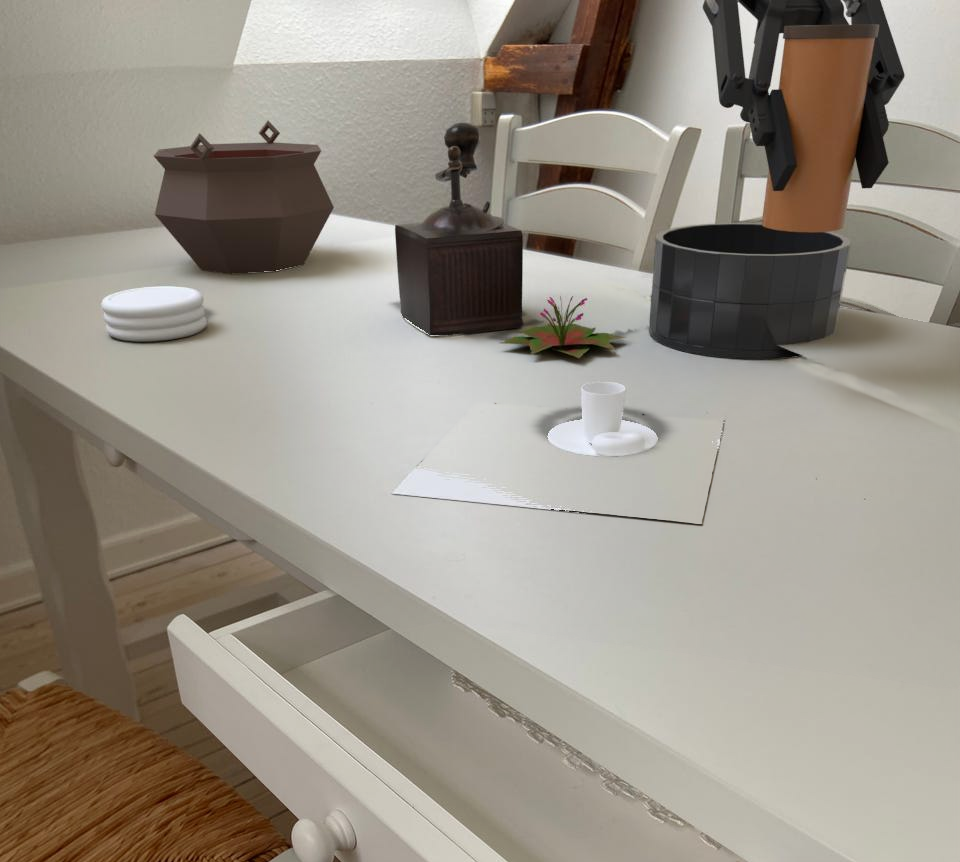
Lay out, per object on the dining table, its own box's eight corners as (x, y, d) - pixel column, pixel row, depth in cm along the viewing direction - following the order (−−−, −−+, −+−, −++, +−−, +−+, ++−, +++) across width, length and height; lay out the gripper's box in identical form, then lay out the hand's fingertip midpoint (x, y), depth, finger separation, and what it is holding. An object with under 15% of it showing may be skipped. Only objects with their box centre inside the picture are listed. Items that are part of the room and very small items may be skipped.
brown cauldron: (207, 245, 146) (189, 119, 137) (365, 249, 141) (356, 119, 133) (125, 279, 126) (98, 133, 117) (307, 284, 121) (292, 134, 113)
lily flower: (543, 325, 103) (544, 279, 100) (648, 342, 97) (651, 293, 94) (475, 352, 95) (474, 302, 92) (584, 372, 89) (587, 319, 86)
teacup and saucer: (648, 471, 68) (652, 413, 66) (533, 461, 70) (534, 404, 68) (663, 429, 75) (668, 376, 73) (559, 421, 77) (561, 368, 75)
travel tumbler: (863, 229, 77) (899, 24, 70) (794, 235, 75) (824, 24, 68) (809, 217, 82) (837, 25, 75) (742, 222, 80) (765, 26, 73)
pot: (873, 346, 95) (892, 245, 90) (713, 368, 89) (725, 262, 84) (761, 307, 109) (772, 218, 104) (616, 323, 103) (622, 230, 99)
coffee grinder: (531, 327, 102) (534, 130, 93) (428, 338, 99) (421, 135, 90) (476, 296, 115) (474, 120, 105) (383, 305, 111) (373, 124, 102)
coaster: (116, 348, 97) (109, 311, 95) (99, 326, 105) (92, 291, 103) (218, 335, 101) (213, 299, 99) (194, 314, 109) (189, 281, 107)
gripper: (870, -33, 83) (927, 207, 78) (646, -32, 81) (688, 214, 76) (916, -121, 76) (982, 136, 71) (671, -122, 74) (720, 143, 69)
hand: (830, 176), depth 73 cm, fingers closed on travel tumbler, 6 cm apart
